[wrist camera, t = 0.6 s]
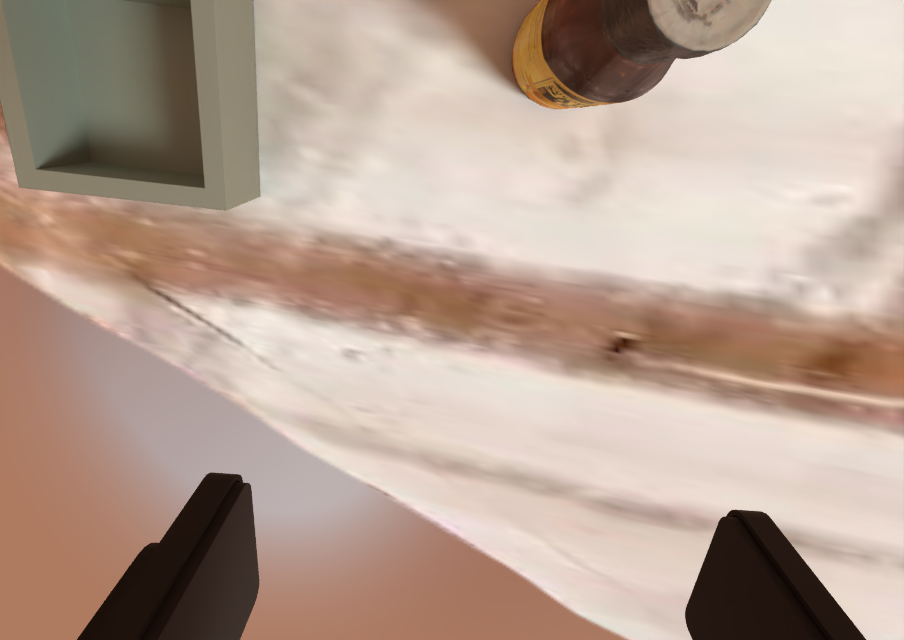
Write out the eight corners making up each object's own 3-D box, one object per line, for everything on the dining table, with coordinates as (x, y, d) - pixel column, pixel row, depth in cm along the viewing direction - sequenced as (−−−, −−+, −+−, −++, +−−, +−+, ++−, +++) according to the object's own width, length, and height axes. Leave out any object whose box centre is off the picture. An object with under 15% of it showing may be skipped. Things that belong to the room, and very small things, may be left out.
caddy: (51, -29, 31) (-35, -60, 25) (253, -4, 31) (211, -29, 26) (85, 176, 35) (19, 187, 30) (260, 196, 36) (226, 210, 30)
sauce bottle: (515, 117, 34) (589, 118, 15) (503, 12, 31) (573, -134, 13) (612, 99, 33) (807, 77, 15) (606, -9, 31) (830, -190, 13)
